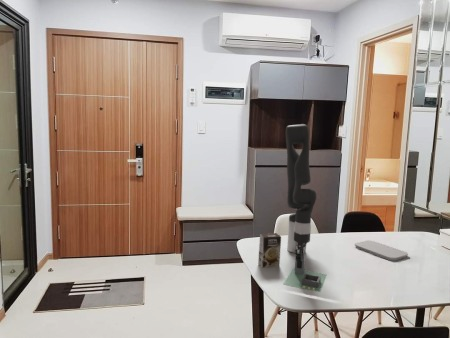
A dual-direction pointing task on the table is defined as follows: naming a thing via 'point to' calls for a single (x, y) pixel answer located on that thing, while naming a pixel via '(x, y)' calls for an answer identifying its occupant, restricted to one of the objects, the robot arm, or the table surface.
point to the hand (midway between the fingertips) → (300, 266)
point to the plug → (302, 270)
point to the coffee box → (269, 250)
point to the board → (306, 280)
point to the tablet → (381, 250)
